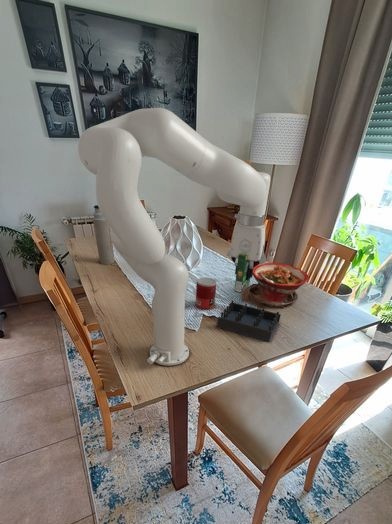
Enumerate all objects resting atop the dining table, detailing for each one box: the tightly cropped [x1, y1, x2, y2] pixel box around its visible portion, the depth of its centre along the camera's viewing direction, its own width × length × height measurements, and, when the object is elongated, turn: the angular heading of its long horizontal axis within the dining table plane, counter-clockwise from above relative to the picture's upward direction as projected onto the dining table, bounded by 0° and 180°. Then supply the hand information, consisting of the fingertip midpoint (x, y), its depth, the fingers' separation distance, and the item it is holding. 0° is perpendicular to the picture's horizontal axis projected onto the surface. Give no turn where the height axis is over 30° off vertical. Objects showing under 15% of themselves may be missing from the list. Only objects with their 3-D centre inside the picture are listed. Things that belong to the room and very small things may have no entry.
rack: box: [216, 299, 282, 343], centre depth 108 cm, size 20×14×6 cm
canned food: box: [195, 276, 217, 311], centre depth 118 cm, size 8×8×11 cm
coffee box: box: [234, 254, 251, 294], centre depth 96 cm, size 8×3×13 cm, turn 151°
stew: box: [240, 262, 309, 309], centre depth 124 cm, size 28×24×16 cm
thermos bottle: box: [92, 204, 116, 265], centre depth 149 cm, size 8×8×28 cm
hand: (243, 277), depth 98 cm, fingers closed on coffee box, 3 cm apart
